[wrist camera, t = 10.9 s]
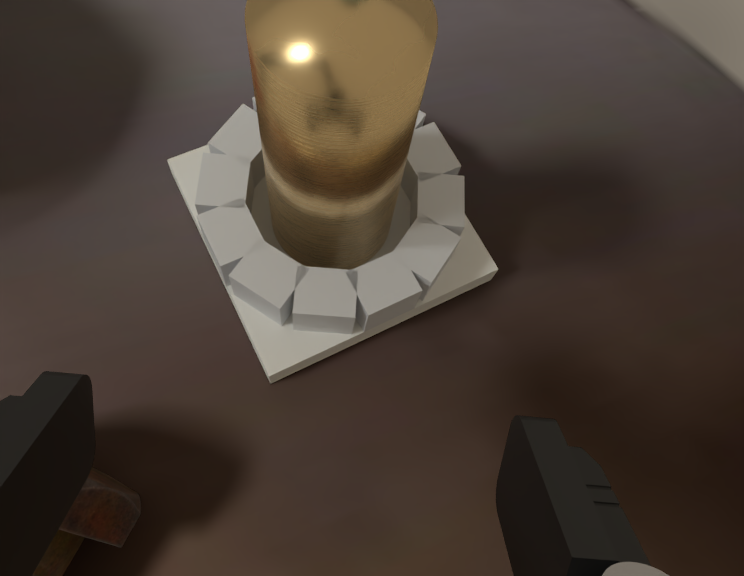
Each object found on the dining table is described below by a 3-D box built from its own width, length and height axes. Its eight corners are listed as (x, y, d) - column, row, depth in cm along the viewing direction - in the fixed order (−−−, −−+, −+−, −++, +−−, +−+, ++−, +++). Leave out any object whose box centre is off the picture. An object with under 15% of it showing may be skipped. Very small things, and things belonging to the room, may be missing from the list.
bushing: (303, 291, 26) (296, 127, 15) (252, 190, 27) (213, -22, 17) (411, 242, 27) (472, 58, 16) (357, 148, 28) (382, -77, 18)
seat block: (270, 383, 25) (265, 362, 22) (172, 174, 28) (156, 131, 25) (490, 279, 28) (513, 248, 25) (380, 96, 31) (388, 48, 28)
